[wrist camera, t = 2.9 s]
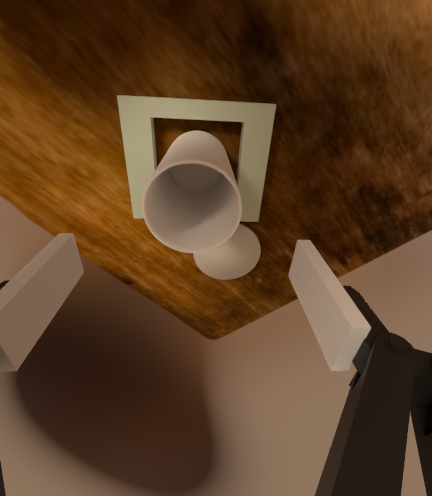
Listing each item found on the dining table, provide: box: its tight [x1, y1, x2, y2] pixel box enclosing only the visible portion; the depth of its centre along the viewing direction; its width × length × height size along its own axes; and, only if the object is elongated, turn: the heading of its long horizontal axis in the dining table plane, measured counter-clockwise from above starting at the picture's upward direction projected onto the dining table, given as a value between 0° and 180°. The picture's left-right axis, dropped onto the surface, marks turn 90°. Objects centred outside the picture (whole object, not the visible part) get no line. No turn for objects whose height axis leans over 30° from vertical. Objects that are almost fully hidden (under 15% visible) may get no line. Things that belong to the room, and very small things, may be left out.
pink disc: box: [194, 223, 261, 280], centre depth 41 cm, size 11×11×1 cm
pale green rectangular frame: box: [117, 95, 276, 222], centre depth 33 cm, size 18×15×2 cm
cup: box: [142, 131, 242, 253], centre depth 27 cm, size 8×8×16 cm
